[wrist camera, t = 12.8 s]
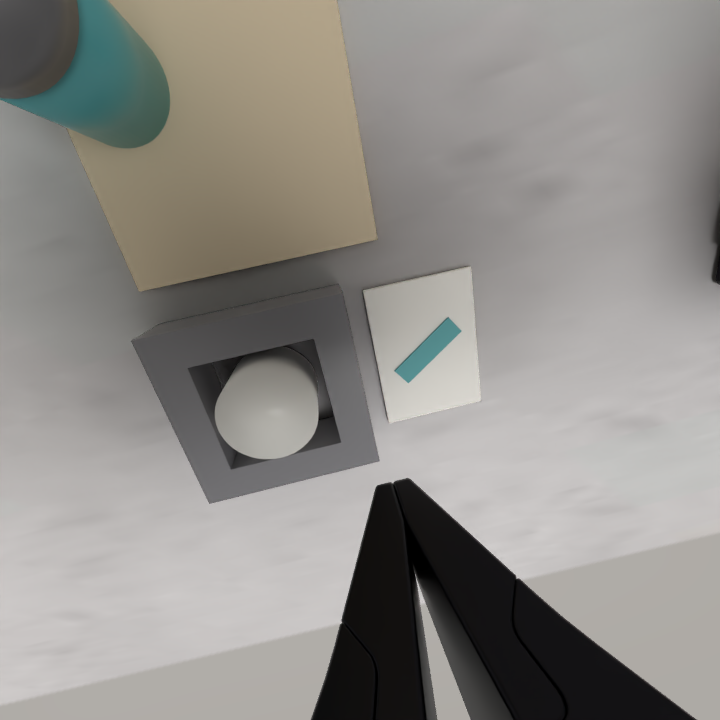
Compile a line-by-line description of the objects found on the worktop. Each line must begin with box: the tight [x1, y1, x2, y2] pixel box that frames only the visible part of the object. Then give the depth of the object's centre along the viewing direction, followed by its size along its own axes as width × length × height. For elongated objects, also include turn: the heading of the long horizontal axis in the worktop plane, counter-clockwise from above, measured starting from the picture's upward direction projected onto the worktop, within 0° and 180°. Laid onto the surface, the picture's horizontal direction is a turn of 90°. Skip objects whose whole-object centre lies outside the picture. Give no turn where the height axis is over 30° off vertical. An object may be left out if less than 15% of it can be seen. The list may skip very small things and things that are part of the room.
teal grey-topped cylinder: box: [0, 0, 170, 148], centre depth 9 cm, size 4×4×6 cm
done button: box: [215, 346, 318, 459], centre depth 15 cm, size 4×4×3 cm
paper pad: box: [66, 0, 378, 292], centre depth 12 cm, size 10×14×1 cm
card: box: [363, 266, 481, 423], centre depth 17 cm, size 5×7×1 cm
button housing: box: [131, 284, 379, 504], centre depth 15 cm, size 8×8×2 cm
